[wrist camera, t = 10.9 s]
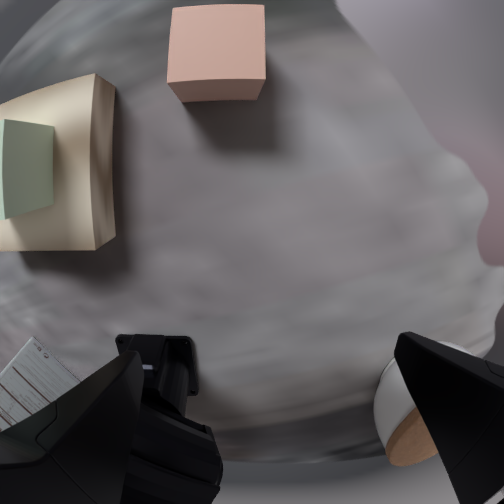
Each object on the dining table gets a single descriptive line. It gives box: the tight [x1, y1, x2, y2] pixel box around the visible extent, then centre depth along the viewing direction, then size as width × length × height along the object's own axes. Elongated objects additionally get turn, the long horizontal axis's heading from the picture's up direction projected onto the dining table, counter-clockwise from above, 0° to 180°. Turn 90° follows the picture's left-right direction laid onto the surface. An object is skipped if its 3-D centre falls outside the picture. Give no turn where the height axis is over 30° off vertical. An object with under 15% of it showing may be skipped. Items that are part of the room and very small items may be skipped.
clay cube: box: [167, 4, 266, 102], centre depth 14 cm, size 5×5×5 cm
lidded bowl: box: [373, 341, 477, 466], centre depth 20 cm, size 13×13×11 cm
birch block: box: [0, 74, 116, 251], centre depth 15 cm, size 11×11×4 cm
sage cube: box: [0, 119, 54, 220], centre depth 11 cm, size 5×5×5 cm
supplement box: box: [0, 337, 80, 432], centre depth 16 cm, size 7×7×13 cm
